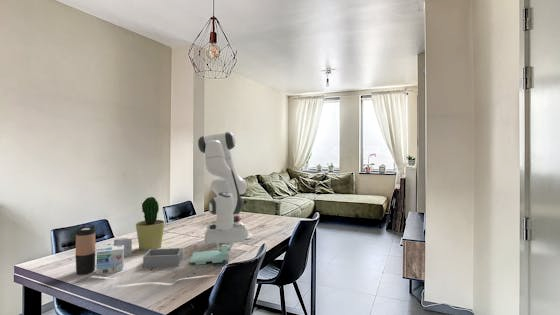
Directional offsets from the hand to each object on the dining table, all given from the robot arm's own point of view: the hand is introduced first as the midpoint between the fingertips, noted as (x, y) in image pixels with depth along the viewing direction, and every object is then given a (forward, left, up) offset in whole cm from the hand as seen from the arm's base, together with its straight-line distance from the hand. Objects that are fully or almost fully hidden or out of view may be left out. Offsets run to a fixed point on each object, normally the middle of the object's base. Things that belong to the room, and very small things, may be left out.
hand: (224, 251), depth 155 cm
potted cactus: (+42, -25, -5) cm, 50 cm away
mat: (+7, 0, -5) cm, 9 cm away
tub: (+29, +2, -5) cm, 30 cm away
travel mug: (+62, +7, -5) cm, 63 cm away
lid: (+7, 0, -2) cm, 8 cm away
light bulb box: (+51, +8, -5) cm, 52 cm away
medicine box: (+53, -14, -5) cm, 55 cm away
